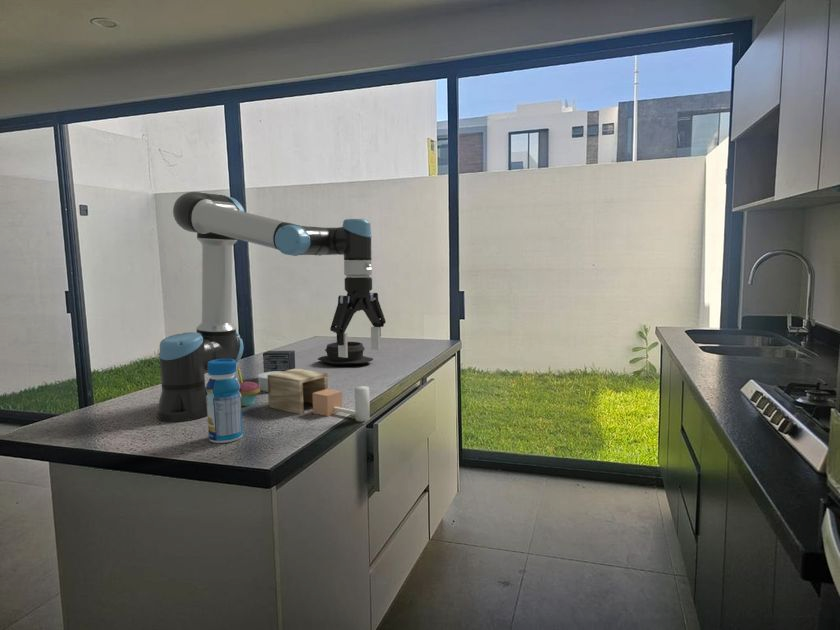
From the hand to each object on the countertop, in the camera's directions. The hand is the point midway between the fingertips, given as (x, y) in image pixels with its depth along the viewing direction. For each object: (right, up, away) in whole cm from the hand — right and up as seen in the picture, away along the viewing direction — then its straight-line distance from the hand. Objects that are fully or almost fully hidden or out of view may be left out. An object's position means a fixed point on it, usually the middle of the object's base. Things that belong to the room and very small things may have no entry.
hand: (359, 353), depth 151 cm
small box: (-36, -14, +55) cm, 67 cm away
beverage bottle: (-33, -21, -13) cm, 41 cm away
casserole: (-15, -10, +83) cm, 85 cm away
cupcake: (-38, -18, +20) cm, 46 cm away
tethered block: (-5, -18, +6) cm, 20 cm away
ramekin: (-34, -15, +39) cm, 54 cm away
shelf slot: (-21, -17, +16) cm, 32 cm away
